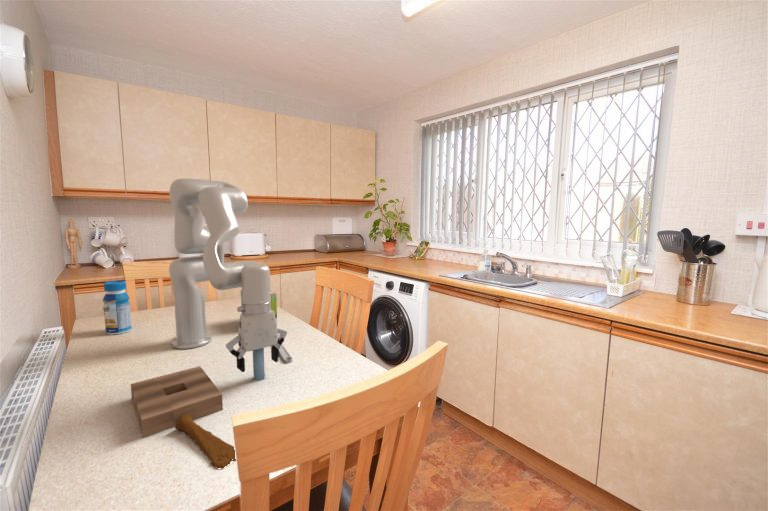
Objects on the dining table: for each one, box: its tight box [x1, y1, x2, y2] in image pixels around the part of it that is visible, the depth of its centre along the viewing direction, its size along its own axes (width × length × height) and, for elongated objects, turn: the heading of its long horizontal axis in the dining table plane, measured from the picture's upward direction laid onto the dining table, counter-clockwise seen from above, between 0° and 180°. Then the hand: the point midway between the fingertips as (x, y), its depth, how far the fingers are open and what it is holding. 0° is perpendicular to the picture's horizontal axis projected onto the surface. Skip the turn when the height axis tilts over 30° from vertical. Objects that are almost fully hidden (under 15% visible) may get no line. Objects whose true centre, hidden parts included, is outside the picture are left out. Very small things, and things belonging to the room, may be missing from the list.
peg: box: [252, 348, 265, 381], centre depth 98 cm, size 3×3×10 cm
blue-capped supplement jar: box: [102, 280, 132, 336], centre depth 133 cm, size 8×8×20 cm
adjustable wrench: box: [278, 334, 293, 364], centre depth 119 cm, size 25×6×2 cm, turn 25°
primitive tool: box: [174, 415, 237, 469], centre depth 70 cm, size 19×6×4 cm, turn 59°
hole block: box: [130, 365, 224, 438], centre depth 85 cm, size 20×16×4 cm
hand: (258, 365), depth 98 cm, fingers open, 9 cm apart
